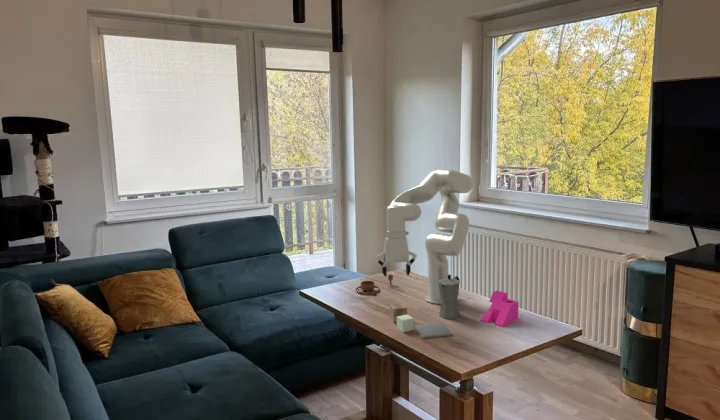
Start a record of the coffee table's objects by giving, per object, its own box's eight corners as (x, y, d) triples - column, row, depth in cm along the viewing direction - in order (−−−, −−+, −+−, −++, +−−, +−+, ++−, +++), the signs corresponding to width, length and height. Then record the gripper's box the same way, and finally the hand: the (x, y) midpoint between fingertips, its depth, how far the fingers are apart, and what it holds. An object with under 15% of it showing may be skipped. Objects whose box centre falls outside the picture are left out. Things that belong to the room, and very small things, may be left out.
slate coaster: (442, 324, 214) (442, 322, 214) (452, 335, 202) (452, 333, 202) (414, 327, 212) (414, 325, 212) (422, 338, 200) (422, 336, 200)
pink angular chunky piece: (496, 313, 224) (496, 290, 223) (518, 319, 217) (518, 295, 215) (480, 321, 216) (480, 297, 215) (502, 327, 209) (502, 302, 207)
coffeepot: (452, 322, 216) (452, 280, 213) (432, 318, 222) (431, 277, 219) (468, 311, 228) (468, 271, 226) (448, 307, 234) (448, 268, 231)
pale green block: (407, 326, 214) (407, 314, 213) (413, 330, 209) (413, 318, 209) (396, 328, 212) (396, 316, 211) (402, 332, 207) (402, 320, 206)
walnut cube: (403, 316, 225) (403, 303, 224) (407, 321, 219) (407, 307, 218) (390, 317, 224) (389, 304, 223) (393, 322, 218) (393, 309, 217)
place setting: (354, 287, 270) (354, 276, 269) (392, 285, 272) (392, 274, 271) (357, 298, 253) (357, 286, 252) (398, 295, 254) (398, 284, 253)
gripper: (414, 232, 221) (414, 271, 224) (373, 234, 219) (374, 273, 221) (418, 235, 214) (418, 276, 216) (376, 237, 212) (377, 278, 214)
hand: (396, 275), depth 219 cm, fingers open, 9 cm apart
